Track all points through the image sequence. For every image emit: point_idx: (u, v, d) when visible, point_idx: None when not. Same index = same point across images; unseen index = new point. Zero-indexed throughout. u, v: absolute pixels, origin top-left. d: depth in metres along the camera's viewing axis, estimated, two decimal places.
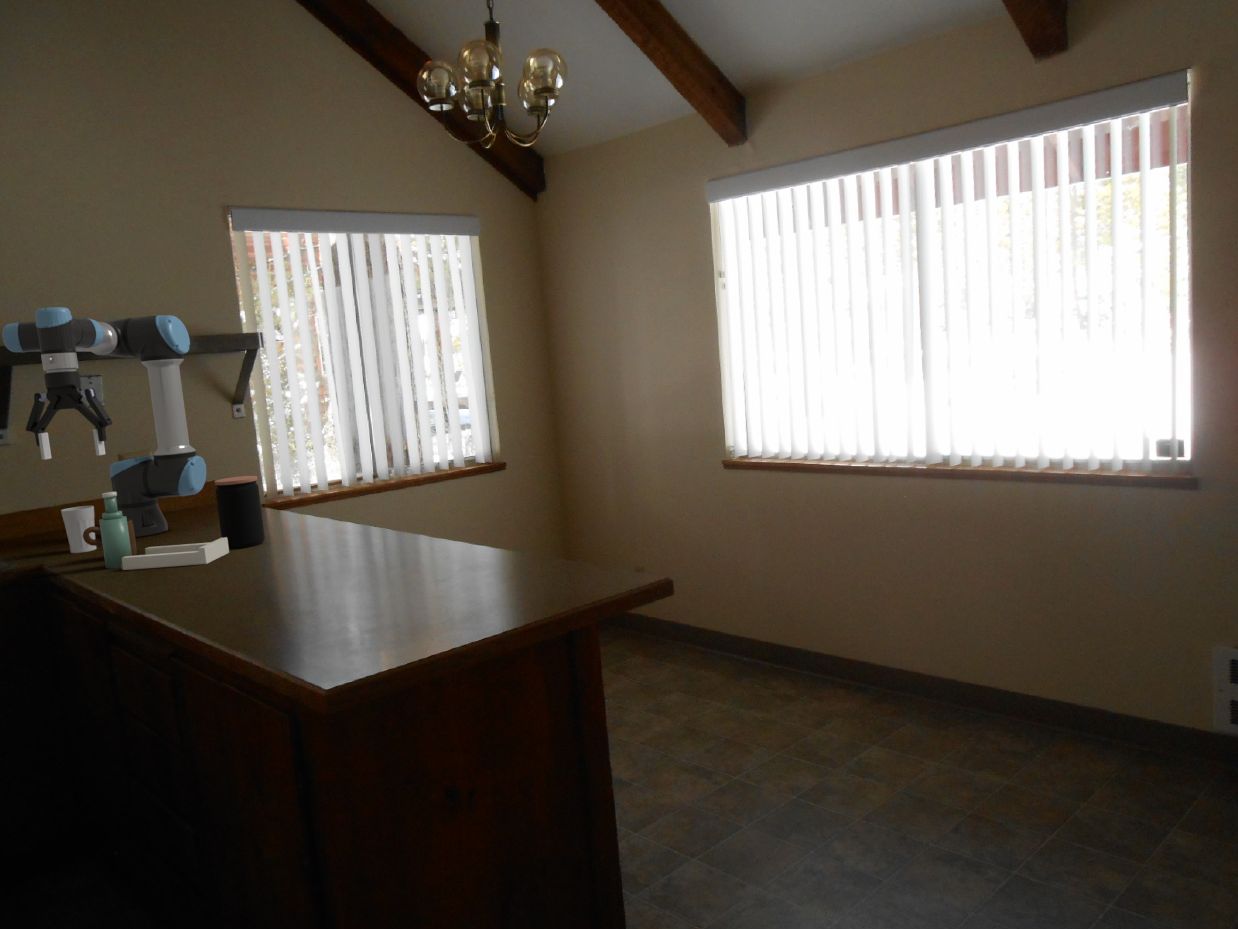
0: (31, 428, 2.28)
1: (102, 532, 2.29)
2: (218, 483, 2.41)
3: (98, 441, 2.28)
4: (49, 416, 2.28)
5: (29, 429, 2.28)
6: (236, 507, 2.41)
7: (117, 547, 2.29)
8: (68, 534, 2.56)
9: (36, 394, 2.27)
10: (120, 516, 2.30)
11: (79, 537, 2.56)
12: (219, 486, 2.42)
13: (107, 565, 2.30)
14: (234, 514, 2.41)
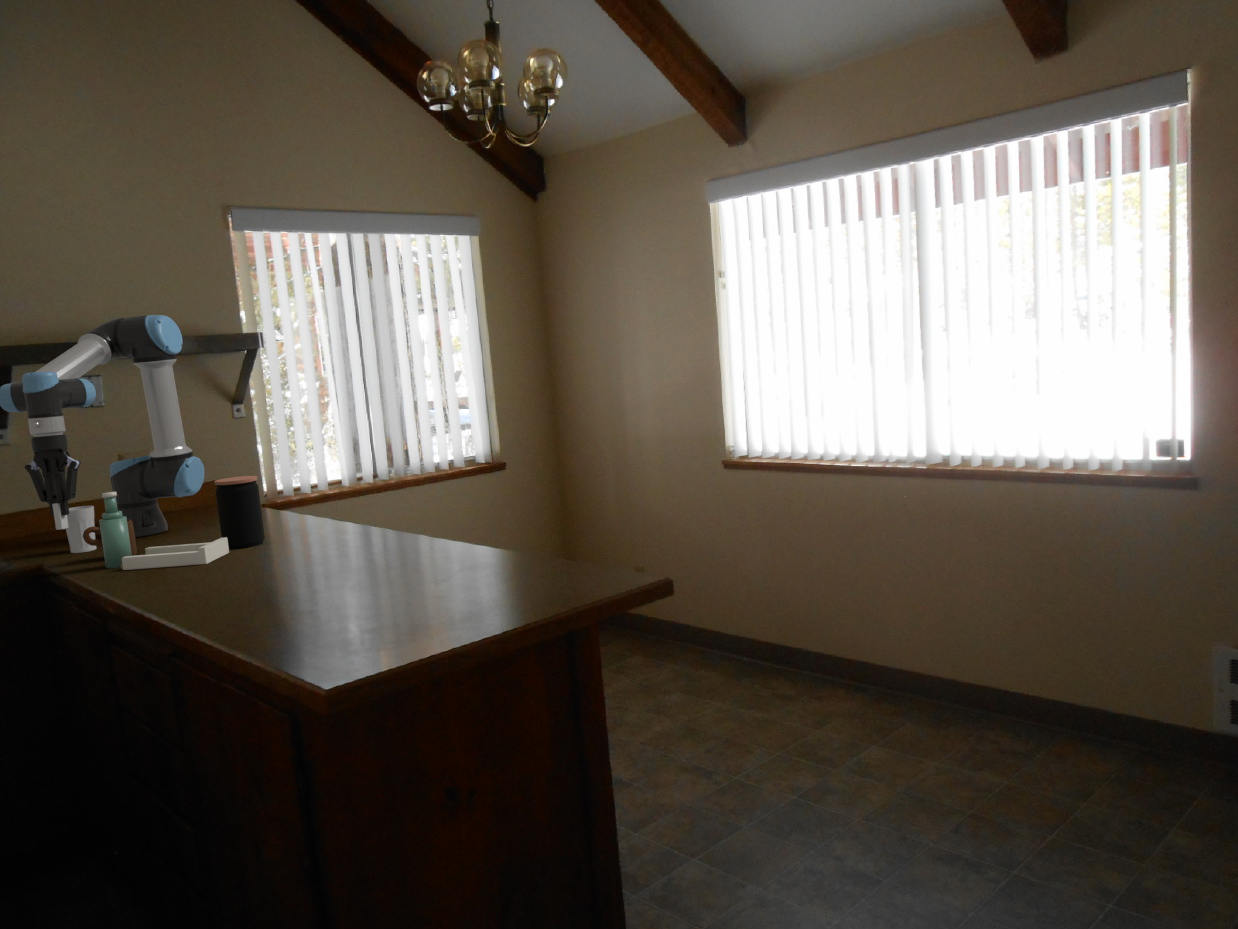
0: (44, 497, 2.29)
1: (102, 532, 2.29)
2: (218, 483, 2.41)
3: (61, 515, 2.30)
4: (51, 481, 2.29)
5: (43, 498, 2.29)
6: (236, 507, 2.41)
7: (117, 547, 2.29)
8: (68, 534, 2.56)
9: (26, 466, 2.28)
10: (120, 516, 2.30)
11: (79, 537, 2.56)
12: (219, 486, 2.42)
13: (107, 565, 2.30)
14: (234, 514, 2.41)
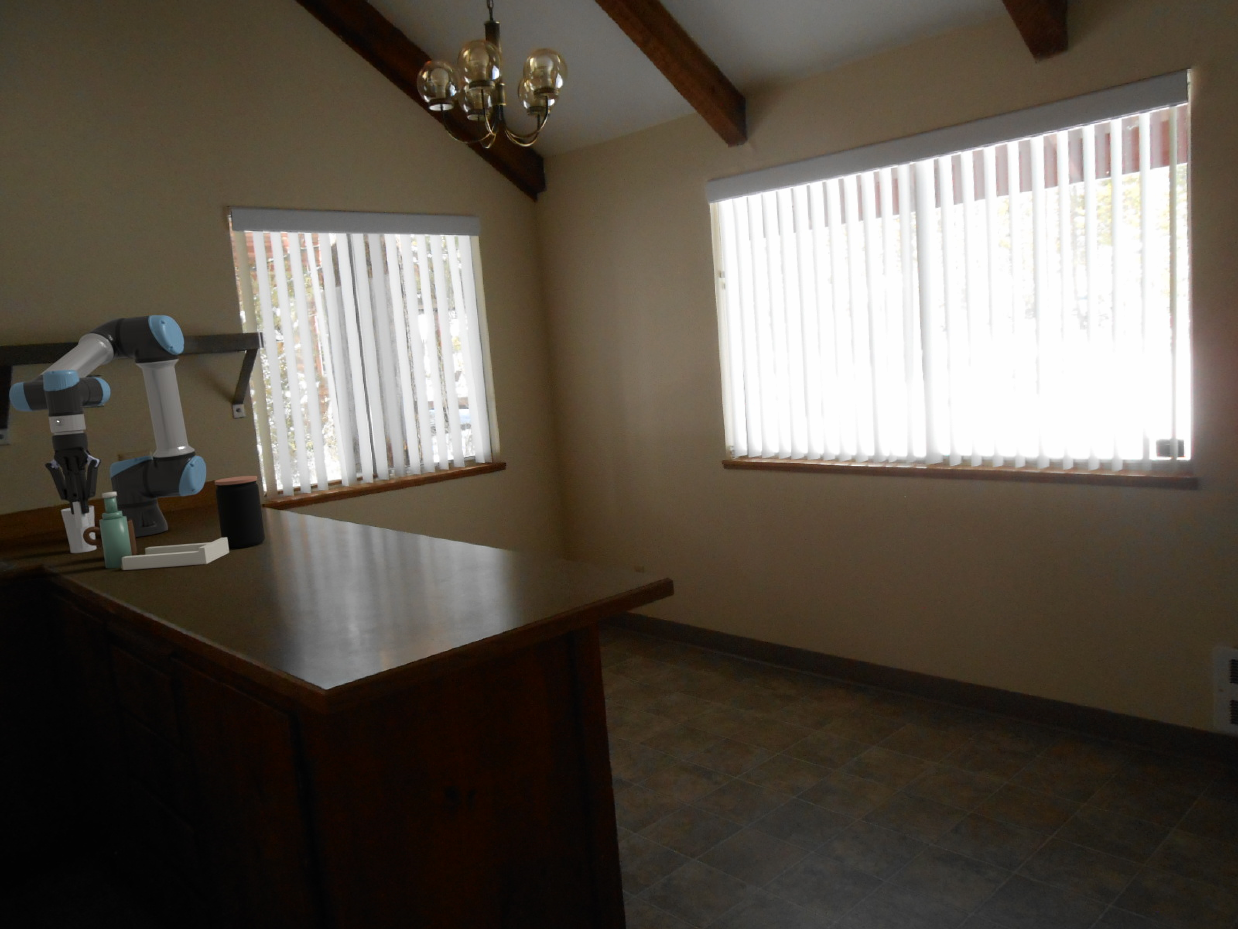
0: (65, 495, 2.29)
1: (102, 532, 2.29)
2: (218, 483, 2.41)
3: (81, 514, 2.30)
4: (71, 480, 2.29)
5: (64, 497, 2.29)
6: (236, 507, 2.41)
7: (117, 547, 2.29)
8: (68, 534, 2.56)
9: (46, 464, 2.28)
10: (120, 516, 2.30)
11: (79, 537, 2.56)
12: (219, 486, 2.42)
13: (107, 565, 2.30)
14: (234, 514, 2.41)
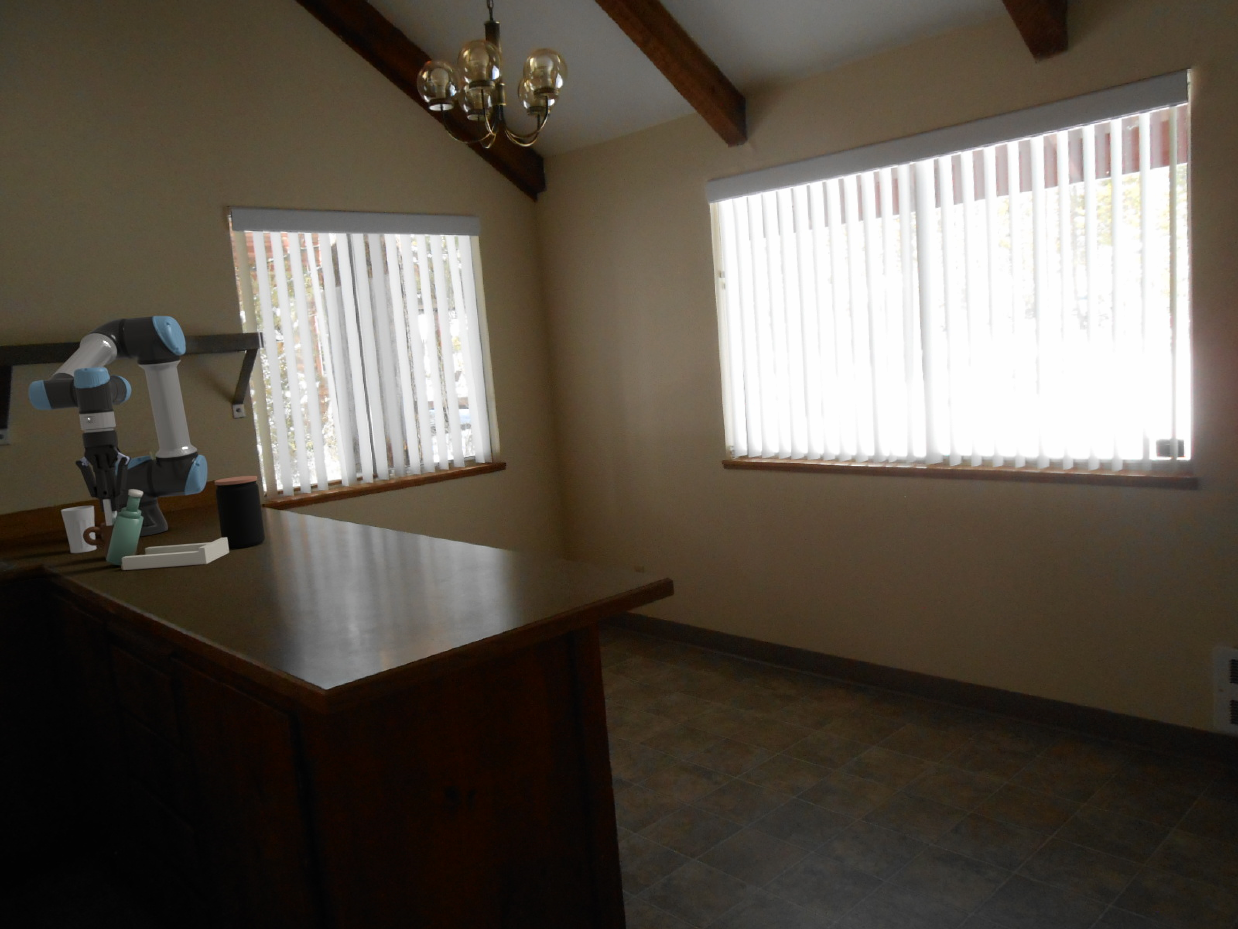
0: (95, 493, 2.29)
1: (115, 527, 2.28)
2: (218, 483, 2.41)
3: (111, 511, 2.29)
4: (101, 477, 2.29)
5: (94, 494, 2.29)
6: (236, 507, 2.41)
7: (124, 545, 2.29)
8: (68, 534, 2.56)
9: (77, 462, 2.28)
10: (138, 517, 2.30)
11: (79, 537, 2.56)
12: (219, 486, 2.42)
13: (108, 559, 2.29)
14: (234, 514, 2.41)
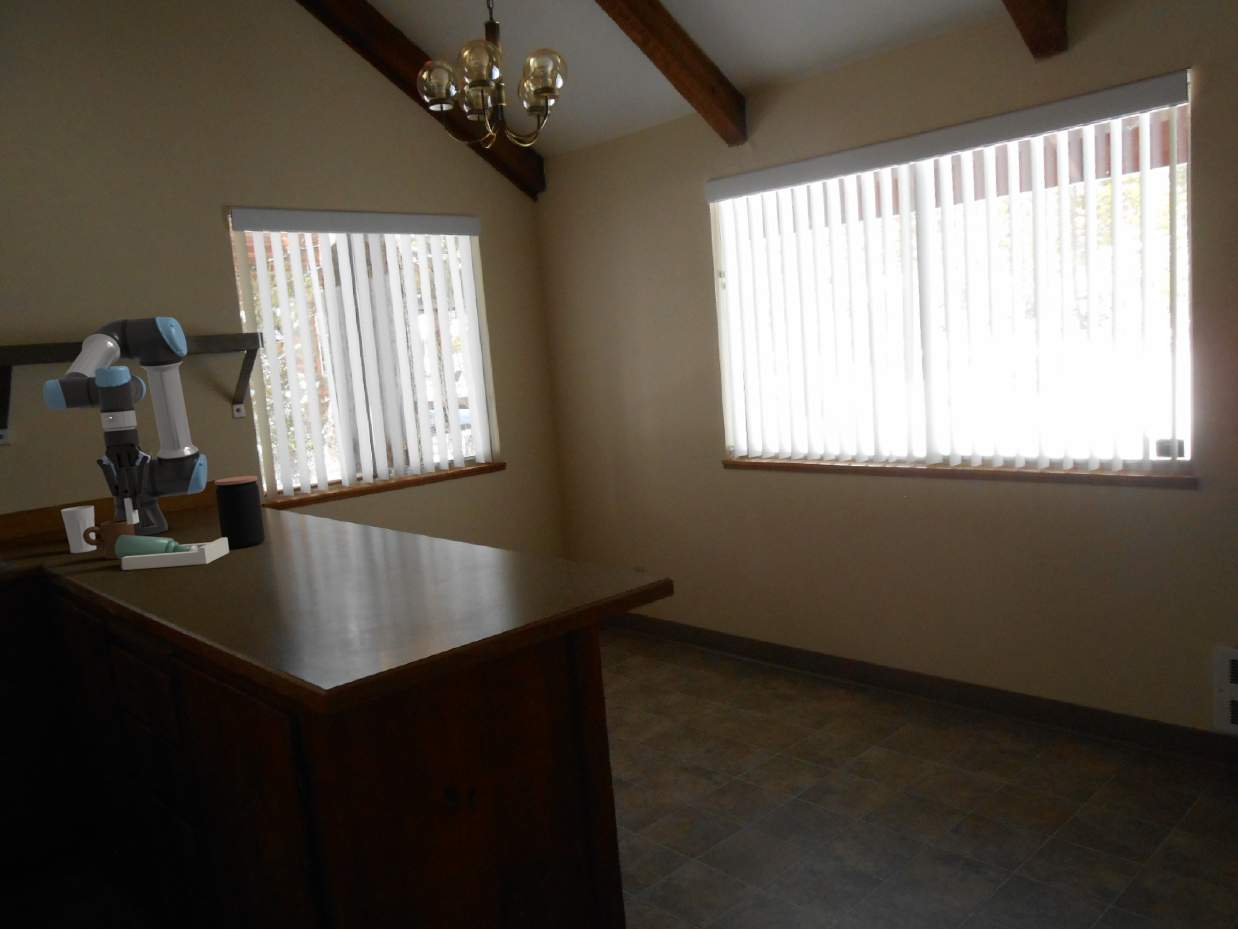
0: (116, 491, 2.29)
1: (152, 545, 2.29)
2: (218, 483, 2.41)
3: (132, 510, 2.29)
4: (122, 476, 2.29)
5: (115, 493, 2.29)
6: (236, 507, 2.41)
7: None
8: (68, 534, 2.56)
9: (98, 460, 2.28)
10: None
11: (79, 537, 2.56)
12: (219, 486, 2.42)
13: (118, 543, 2.29)
14: (234, 514, 2.41)
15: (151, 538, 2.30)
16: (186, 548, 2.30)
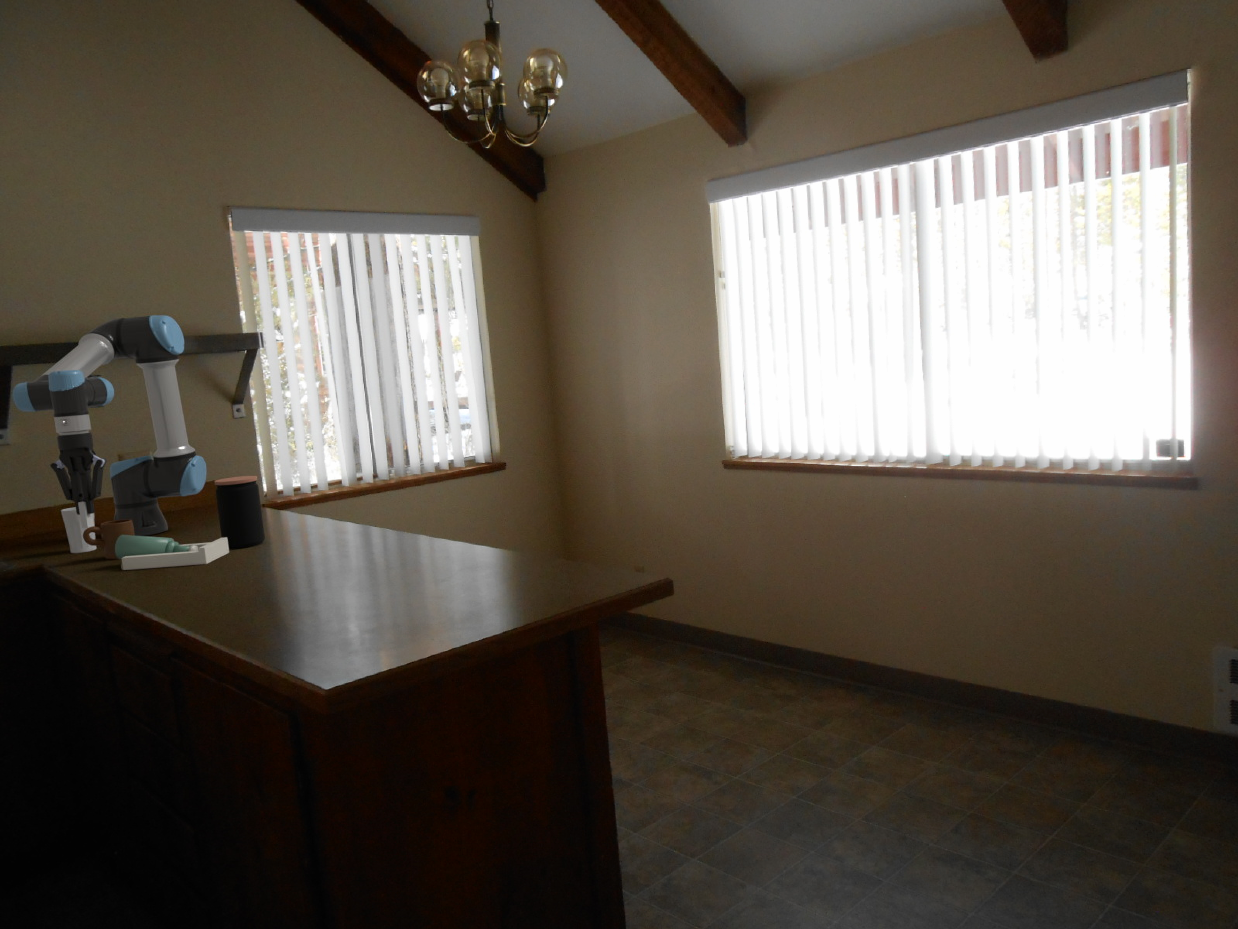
0: (70, 495, 2.29)
1: (152, 545, 2.29)
2: (218, 483, 2.41)
3: (86, 514, 2.30)
4: (76, 480, 2.29)
5: (69, 497, 2.29)
6: (236, 507, 2.41)
7: None
8: (68, 534, 2.56)
9: (52, 464, 2.28)
10: None
11: (79, 537, 2.56)
12: (219, 486, 2.42)
13: (118, 543, 2.29)
14: (234, 514, 2.41)
15: (151, 538, 2.30)
16: (186, 548, 2.30)
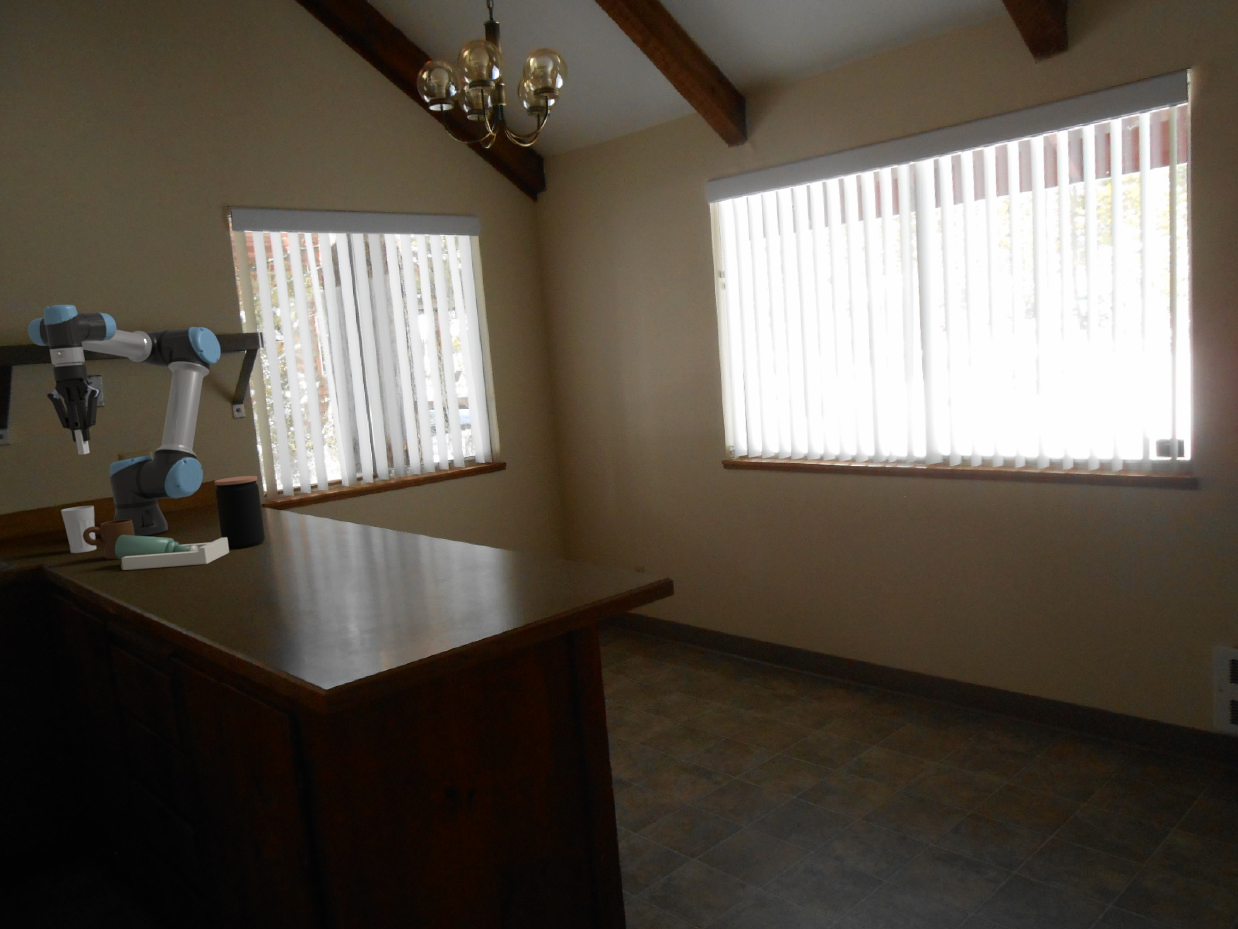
0: (67, 424, 2.44)
1: (152, 545, 2.29)
2: (218, 483, 2.41)
3: (82, 441, 2.44)
4: (72, 409, 2.43)
5: (66, 425, 2.43)
6: (236, 507, 2.41)
7: None
8: (68, 534, 2.56)
9: (48, 394, 2.42)
10: None
11: (79, 537, 2.56)
12: (219, 486, 2.42)
13: (118, 543, 2.29)
14: (234, 514, 2.41)
15: (151, 538, 2.30)
16: (186, 548, 2.30)
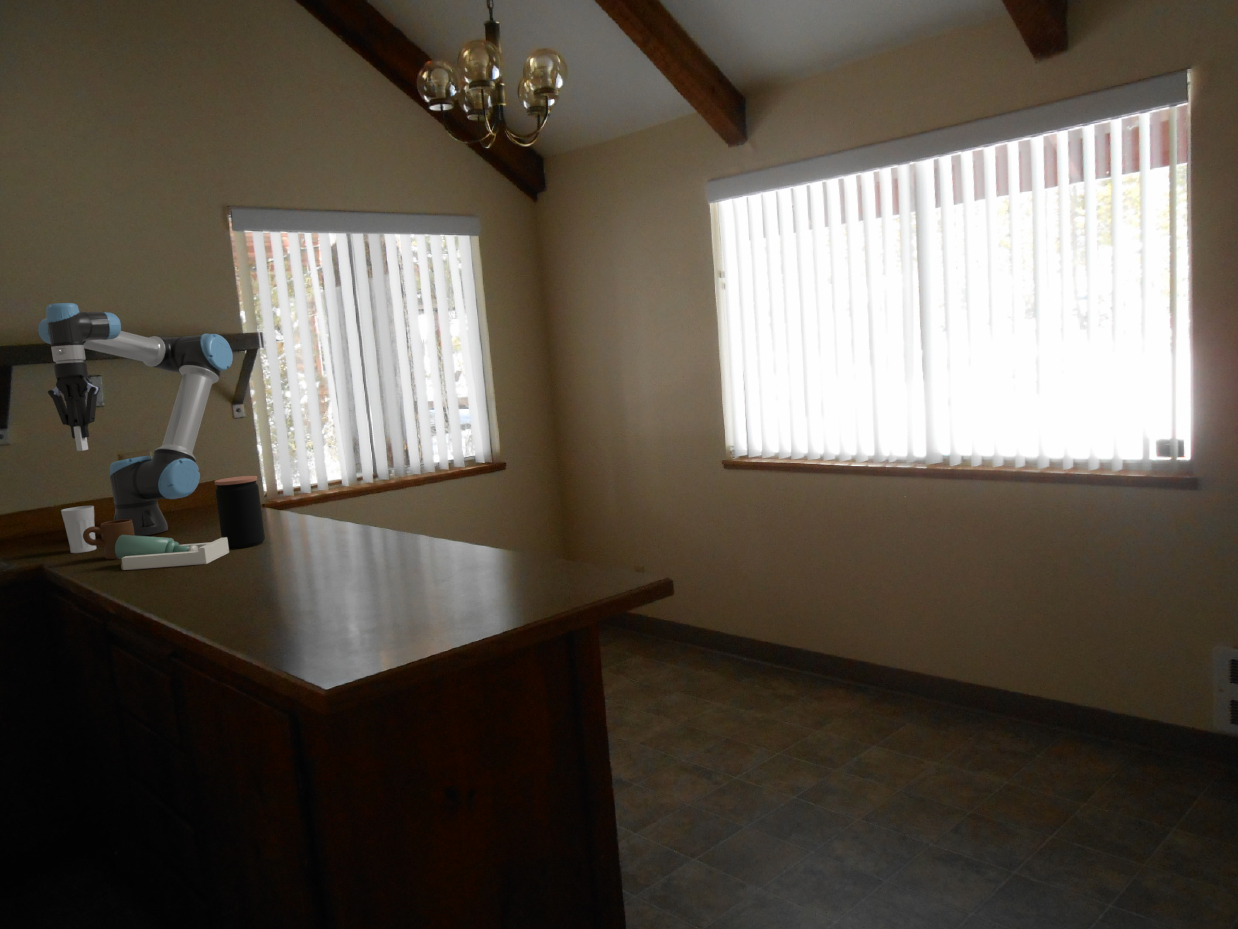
0: (66, 420, 2.47)
1: (152, 545, 2.29)
2: (218, 483, 2.41)
3: (81, 437, 2.48)
4: (72, 406, 2.47)
5: (65, 422, 2.47)
6: (236, 507, 2.41)
7: None
8: (68, 534, 2.56)
9: (49, 391, 2.46)
10: None
11: (79, 537, 2.56)
12: (219, 486, 2.42)
13: (118, 543, 2.29)
14: (234, 514, 2.41)
15: (151, 538, 2.30)
16: (186, 548, 2.30)
